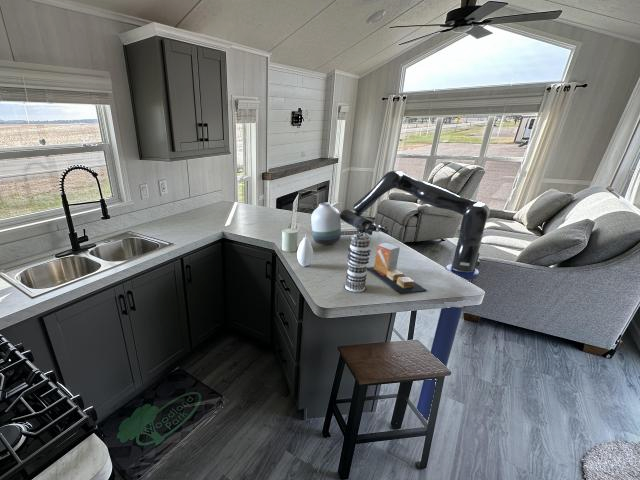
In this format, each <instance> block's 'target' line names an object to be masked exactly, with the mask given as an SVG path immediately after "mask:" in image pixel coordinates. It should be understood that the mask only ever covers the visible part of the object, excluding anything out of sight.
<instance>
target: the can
mask: <svg viewBox="0 0 640 480" xmlns="http://www.w3.org/2000/svg"><path fill="white" fill-rule="evenodd" d="M281 233H282V234H281V250H282V251H283V252H287V253H293V252H297V251H298V236H299V235H298V233H299V231H298V229H296V228H292V227H291V228H284V229H282V230H281Z"/></svg>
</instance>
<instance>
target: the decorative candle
mask: <svg viewBox="0 0 640 480" xmlns="http://www.w3.org/2000/svg"><path fill="white" fill-rule="evenodd" d="M350 240H351V241H350V244H349V246H348V248H347V249H348V252H347V264H348V268H347V272H346V275H345V289H346V290H348V291H350V292H354V293H361V292H364V291H365V289H366V283H367V281H366V280H367V275H368V274H367V268H368V265H369V262H370V261H369V260H370V256H371V251H372V250H371V249H370V244H371V240H372V238H371V237H370V235H369V234H365V233H360V232H357V233H354V234H353V235H352V236H350Z"/></svg>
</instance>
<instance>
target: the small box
mask: <svg viewBox="0 0 640 480" xmlns="http://www.w3.org/2000/svg"><path fill="white" fill-rule="evenodd" d="M400 249H401V247H400V246H397V245H394V244H391V243H388V242H383V243H380V244H377V247H376V253H375V259H374V264H373V265H374V266H373V267H374V269H375V270H378V271H380V272H382V273H384V274H386V275H387V271H389V270H397V267H398V261H399V254H400Z"/></svg>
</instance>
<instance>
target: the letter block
mask: <svg viewBox="0 0 640 480" xmlns="http://www.w3.org/2000/svg"><path fill="white" fill-rule="evenodd" d="M414 283H416V282H415V280H414V279H412V278H410V277H409V276H406V277H399V278H398V279H397V284H398V285H399V286H401V287H402V288H411V287H414Z"/></svg>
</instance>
